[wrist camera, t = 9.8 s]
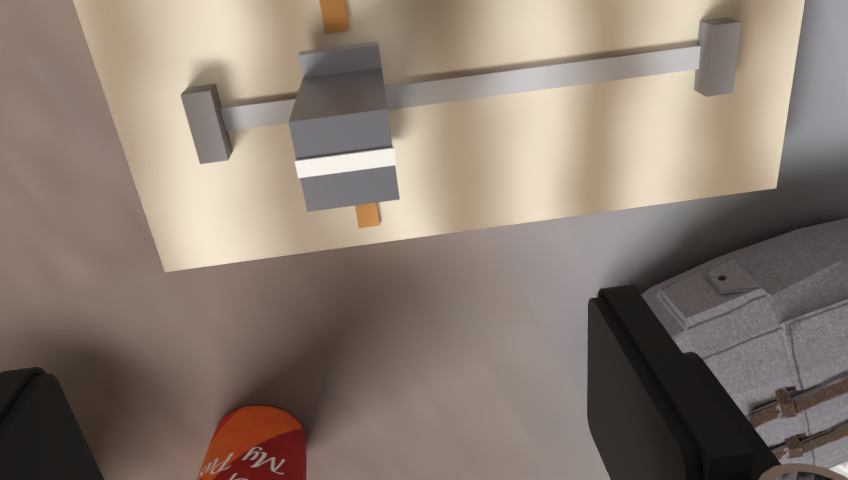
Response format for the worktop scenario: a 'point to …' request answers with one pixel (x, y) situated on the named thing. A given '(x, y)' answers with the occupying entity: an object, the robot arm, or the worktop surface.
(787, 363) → the small grey backpack
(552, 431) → the worktop surface
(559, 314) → the worktop surface
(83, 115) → the worktop surface
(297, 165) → the fader
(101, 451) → the worktop surface
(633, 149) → the console
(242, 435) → the paper cup
